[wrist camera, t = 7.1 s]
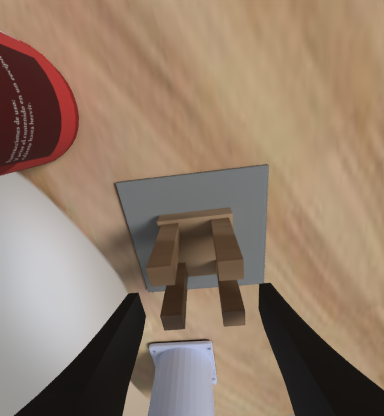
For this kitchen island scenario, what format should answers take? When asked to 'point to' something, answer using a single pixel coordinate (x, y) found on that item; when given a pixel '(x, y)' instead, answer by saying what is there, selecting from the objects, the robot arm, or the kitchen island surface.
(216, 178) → the mat
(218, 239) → the stool
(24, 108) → the canned food
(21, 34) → the kitchen island surface
